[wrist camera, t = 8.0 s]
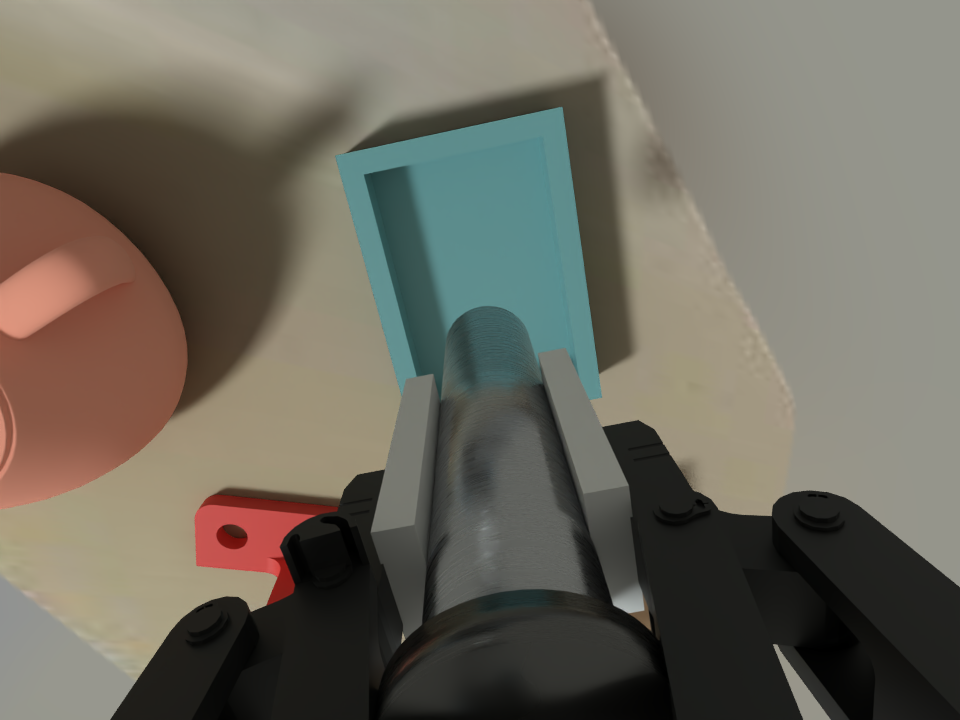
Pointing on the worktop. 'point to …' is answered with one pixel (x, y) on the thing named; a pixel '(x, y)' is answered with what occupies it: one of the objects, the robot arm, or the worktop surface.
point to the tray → (473, 238)
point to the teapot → (77, 344)
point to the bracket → (250, 535)
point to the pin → (513, 562)
